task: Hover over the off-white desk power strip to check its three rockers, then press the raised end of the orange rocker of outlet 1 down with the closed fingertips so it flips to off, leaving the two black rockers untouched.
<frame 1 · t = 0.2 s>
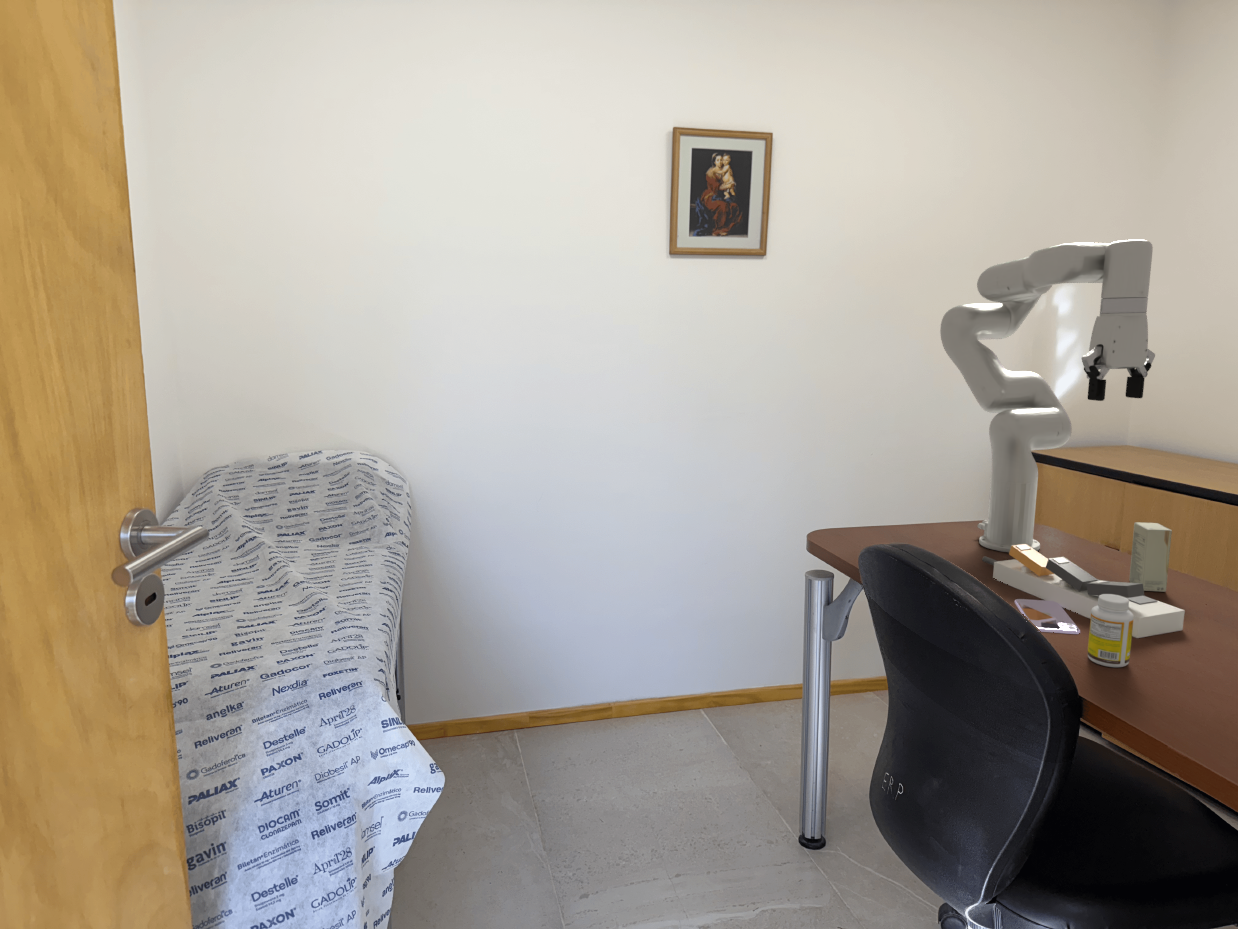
hand: (1115, 398, 153), 36 cm above the table, tool pointing down, fingers open, 9 cm apart
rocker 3: (1114, 588, 137), point 6 cm above the table, hinge at -15.0°
power strip: (1079, 602, 148), on the table
mobile phone: (1045, 619, 141), on the table
skincare box: (1146, 587, 155), on the table
rocker 1: (1032, 559, 154), point 6 cm above the table, hinge at 15.0°
supplement bottle: (1107, 662, 123), on the table
rocker 2: (1071, 573, 146), point 6 cm above the table, hinge at 15.0°
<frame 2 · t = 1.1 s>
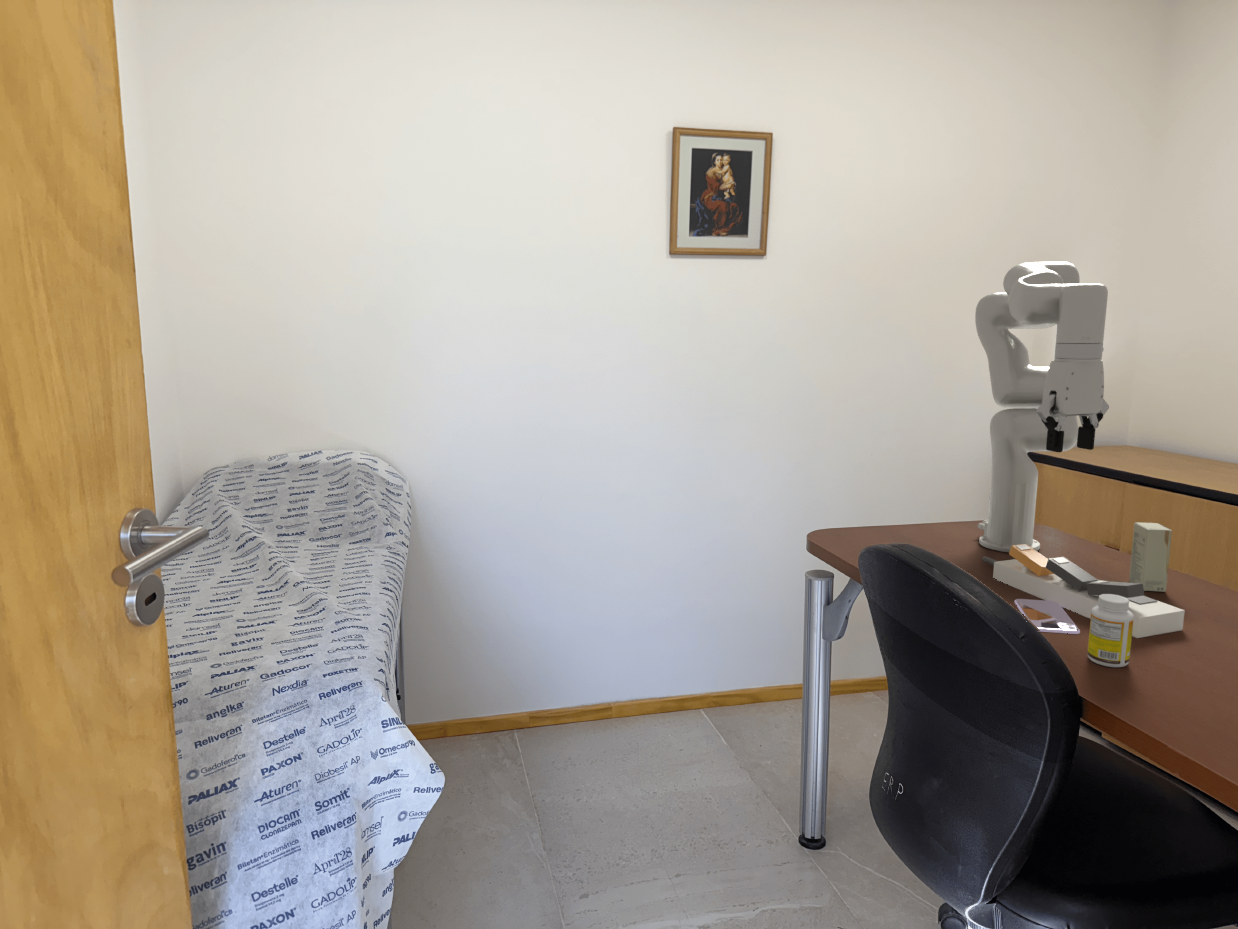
hand: (1069, 449, 148), 28 cm above the table, tool pointing down, fingers open, 6 cm apart
nothing on the table moved.
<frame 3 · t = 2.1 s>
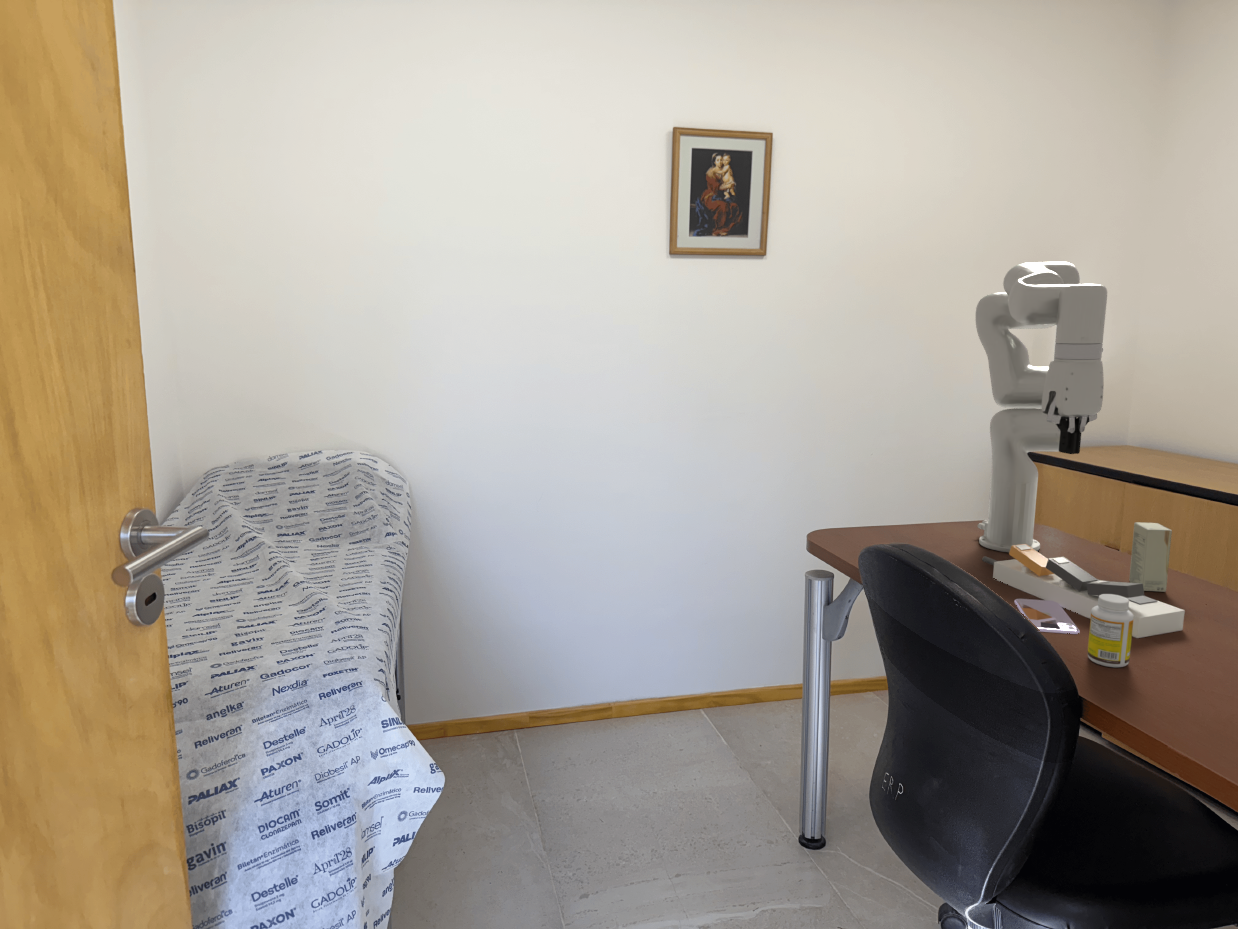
hand: (1068, 452, 149), 27 cm above the table, tool pointing down, fingers closed
nothing on the table moved.
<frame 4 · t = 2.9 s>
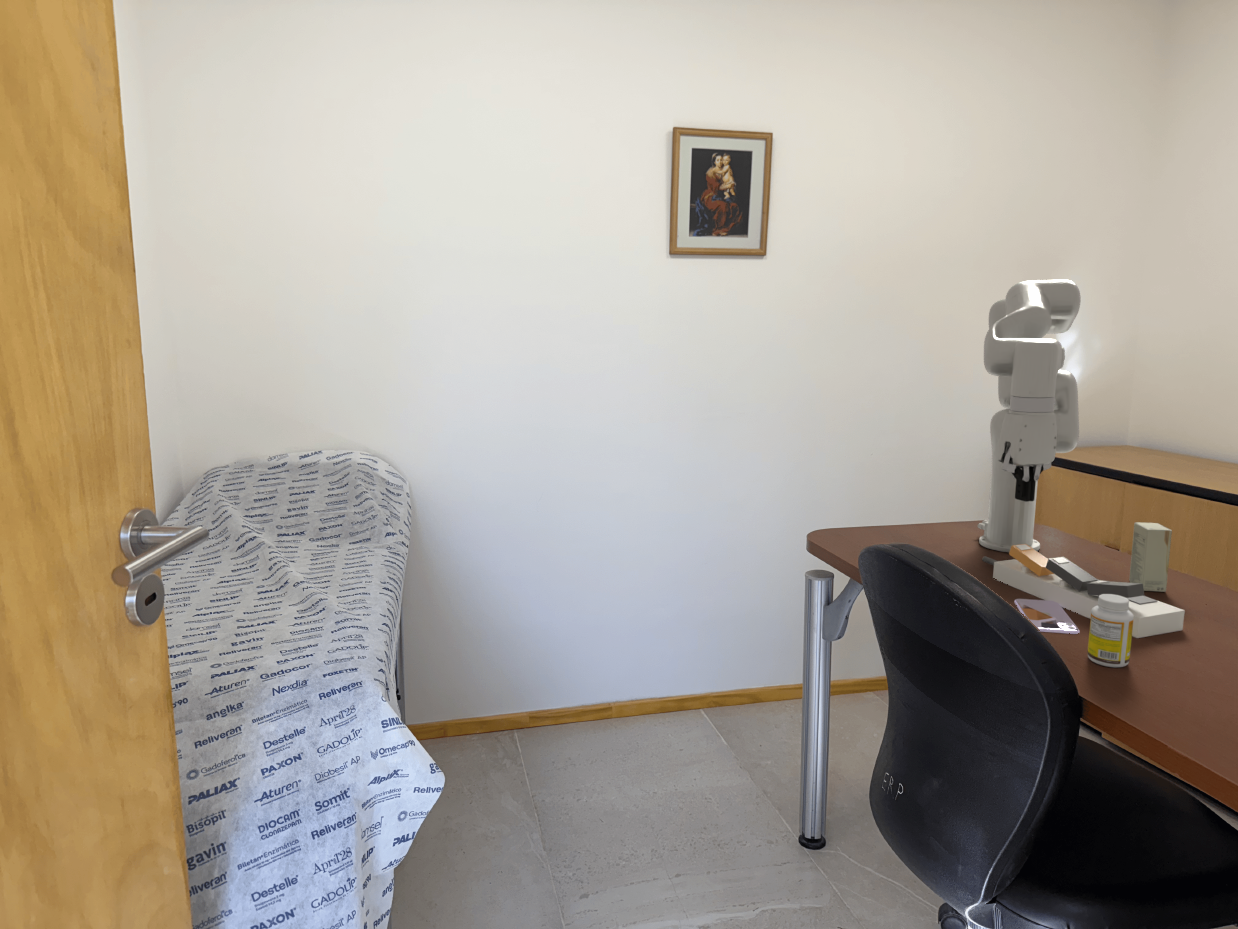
hand: (1024, 499, 155), 17 cm above the table, tool pointing down, fingers closed
nothing on the table moved.
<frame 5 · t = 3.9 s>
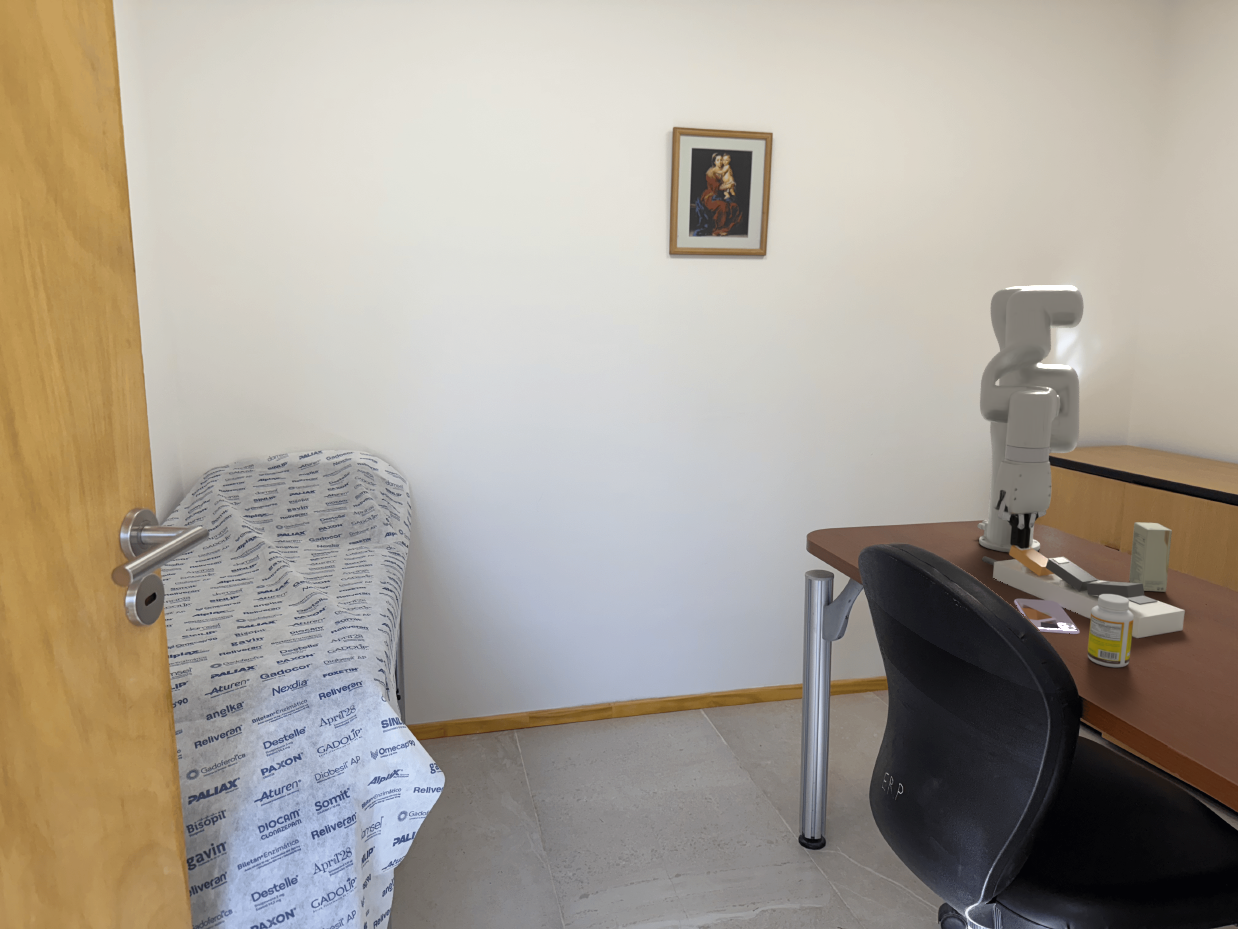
hand: (1019, 546, 157), 8 cm above the table, tool pointing down, fingers closed
rocker 1: (1032, 559, 154), point 6 cm above the table, hinge at 14.7°, touching gripper
everything else where it was.
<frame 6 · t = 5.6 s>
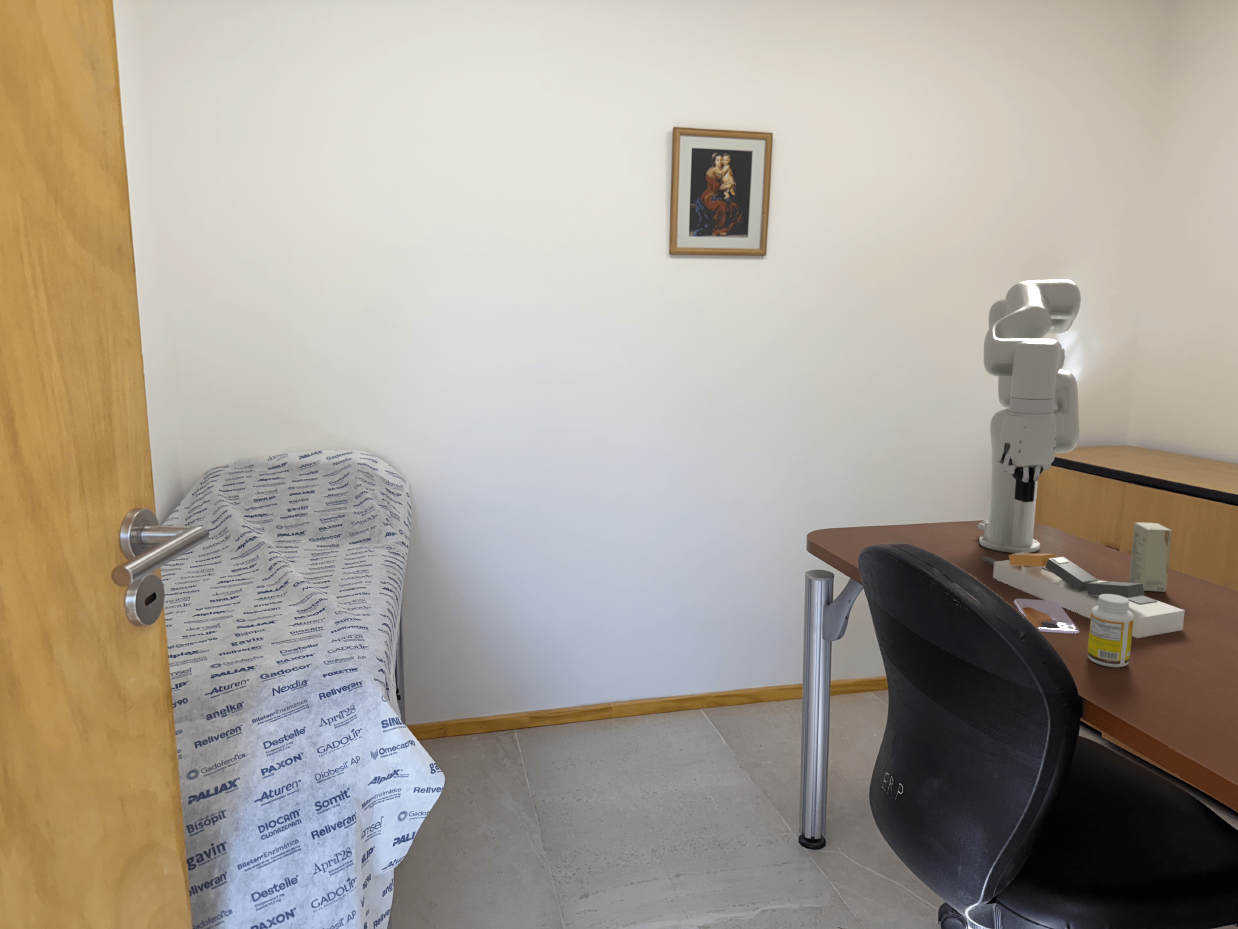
hand: (1023, 500, 155), 17 cm above the table, tool pointing down, fingers closed
rocker 1: (1032, 559, 154), point 6 cm above the table, hinge at -14.8°
everything else where it was.
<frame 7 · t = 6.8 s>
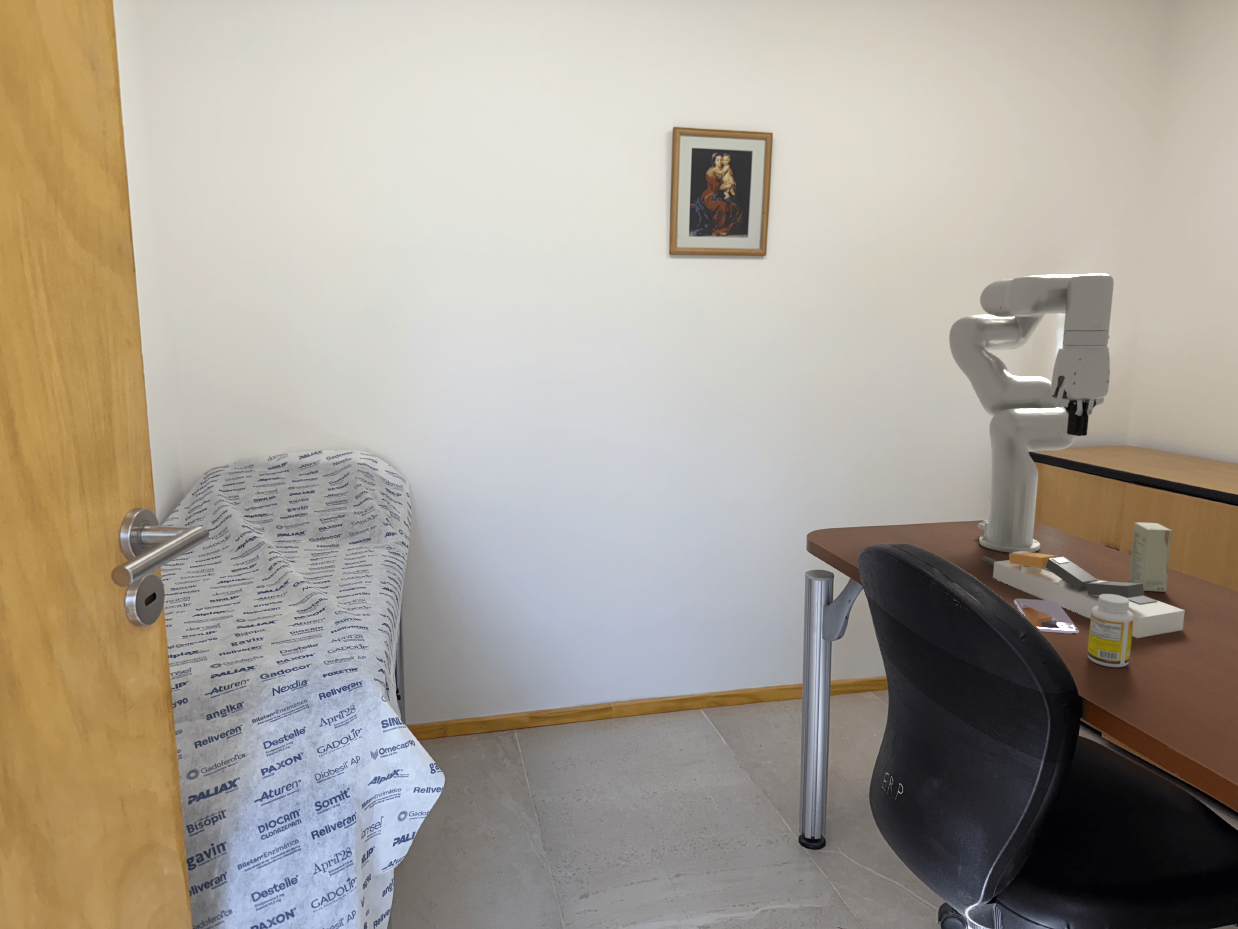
hand: (1076, 434, 156), 29 cm above the table, tool pointing down, fingers closed
rocker 1: (1032, 559, 154), point 6 cm above the table, hinge at -9.9°
everything else where it was.
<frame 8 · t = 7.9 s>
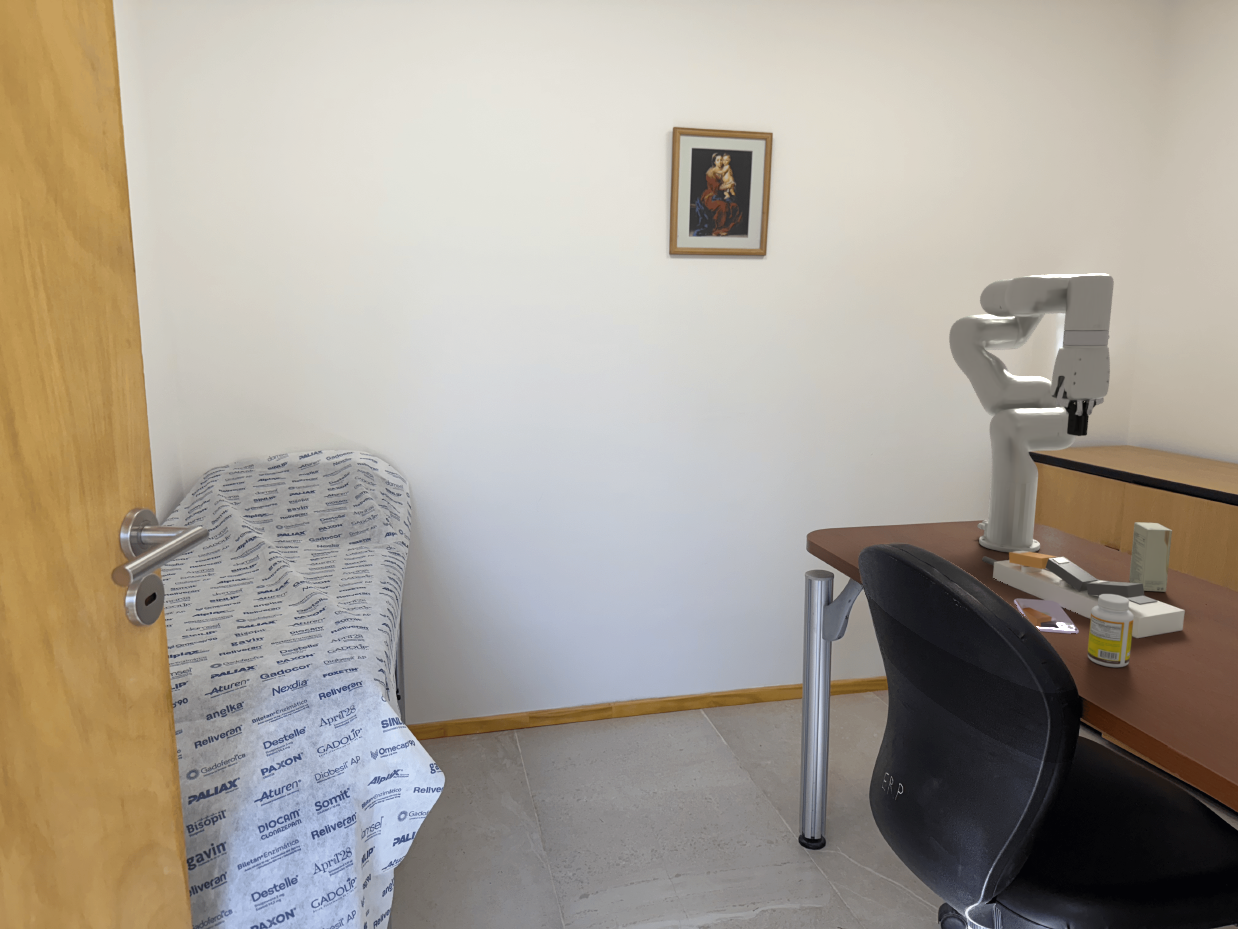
hand: (1076, 434, 156), 29 cm above the table, tool pointing down, fingers closed
rocker 1: (1032, 559, 154), point 6 cm above the table, hinge at -8.0°
everything else where it was.
at the end: rocker 1 at -8° (first picture: +15°); rocker 2 at +15° (first picture: +15°); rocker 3 at -15° (first picture: -15°) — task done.
